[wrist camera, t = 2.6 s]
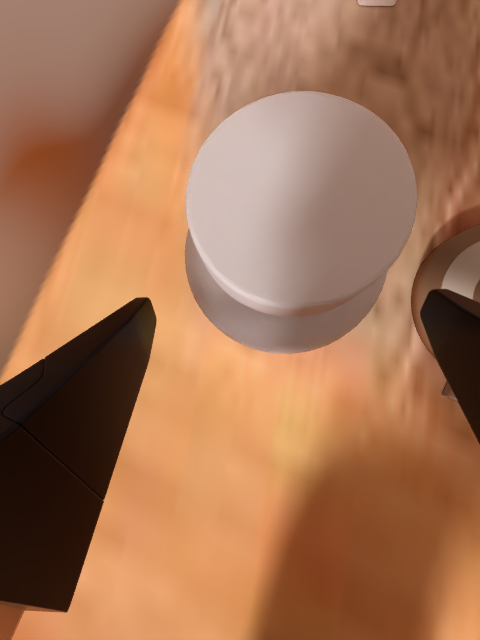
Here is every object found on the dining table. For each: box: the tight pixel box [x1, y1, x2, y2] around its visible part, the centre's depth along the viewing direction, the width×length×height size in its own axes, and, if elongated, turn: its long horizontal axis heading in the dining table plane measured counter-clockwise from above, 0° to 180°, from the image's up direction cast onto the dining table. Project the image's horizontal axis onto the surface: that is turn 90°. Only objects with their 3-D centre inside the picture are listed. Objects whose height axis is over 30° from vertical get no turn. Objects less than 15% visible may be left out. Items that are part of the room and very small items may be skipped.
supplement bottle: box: [185, 91, 417, 354], centre depth 12 cm, size 7×7×13 cm
